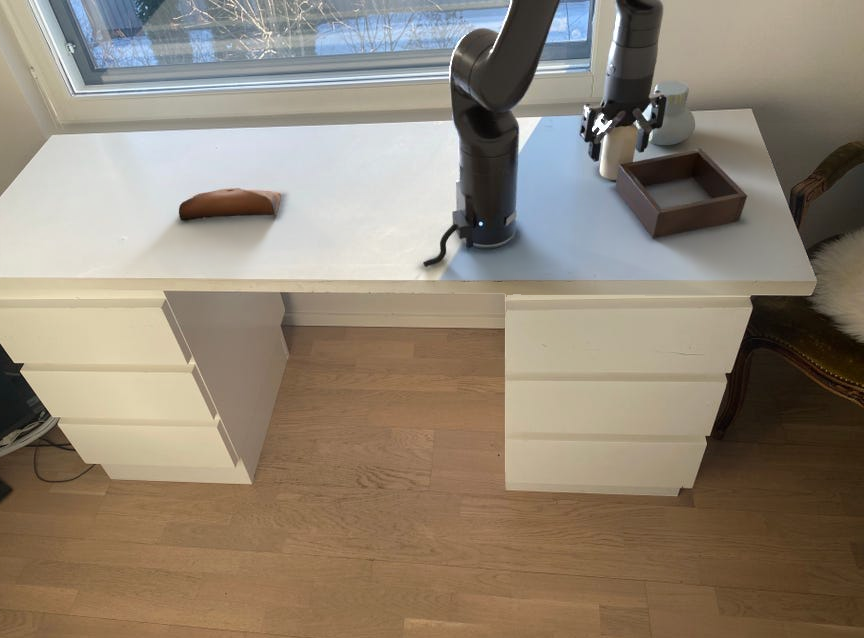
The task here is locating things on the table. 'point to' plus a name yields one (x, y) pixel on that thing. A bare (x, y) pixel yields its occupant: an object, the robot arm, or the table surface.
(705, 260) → the table surface
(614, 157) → the candle
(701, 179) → the walnut box
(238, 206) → the sunglasses case
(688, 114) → the air freshener
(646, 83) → the robot arm
